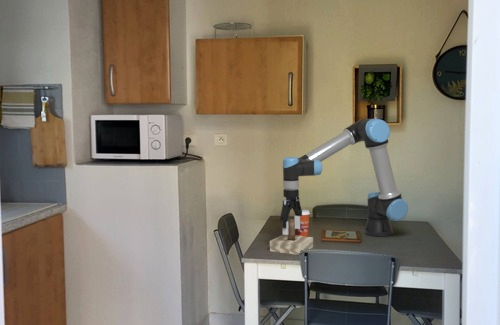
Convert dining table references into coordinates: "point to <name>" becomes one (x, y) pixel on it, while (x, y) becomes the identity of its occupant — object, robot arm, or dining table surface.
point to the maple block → (291, 244)
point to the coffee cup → (304, 224)
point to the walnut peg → (291, 229)
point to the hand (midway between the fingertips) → (291, 231)
